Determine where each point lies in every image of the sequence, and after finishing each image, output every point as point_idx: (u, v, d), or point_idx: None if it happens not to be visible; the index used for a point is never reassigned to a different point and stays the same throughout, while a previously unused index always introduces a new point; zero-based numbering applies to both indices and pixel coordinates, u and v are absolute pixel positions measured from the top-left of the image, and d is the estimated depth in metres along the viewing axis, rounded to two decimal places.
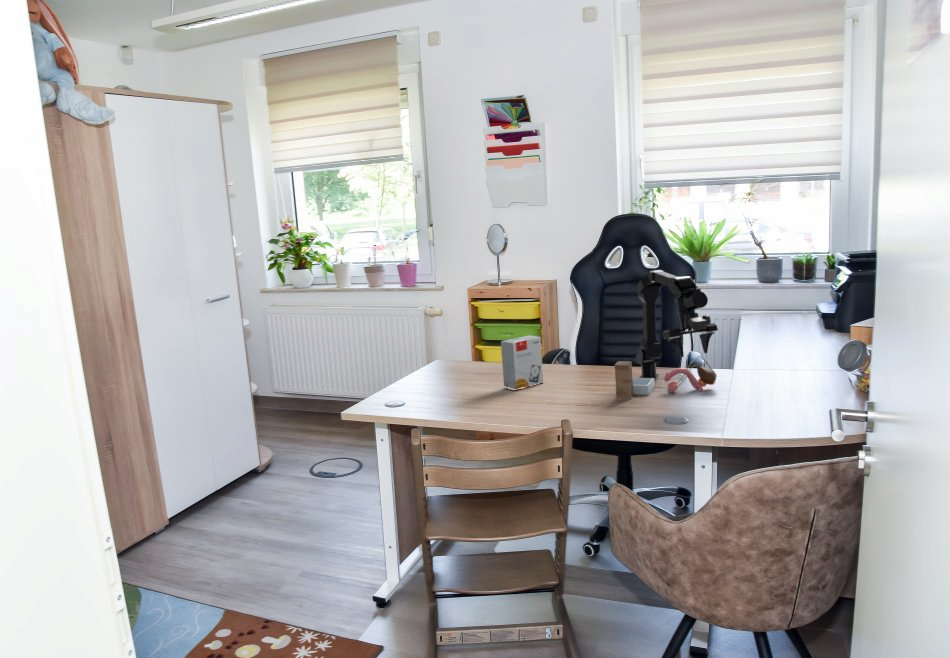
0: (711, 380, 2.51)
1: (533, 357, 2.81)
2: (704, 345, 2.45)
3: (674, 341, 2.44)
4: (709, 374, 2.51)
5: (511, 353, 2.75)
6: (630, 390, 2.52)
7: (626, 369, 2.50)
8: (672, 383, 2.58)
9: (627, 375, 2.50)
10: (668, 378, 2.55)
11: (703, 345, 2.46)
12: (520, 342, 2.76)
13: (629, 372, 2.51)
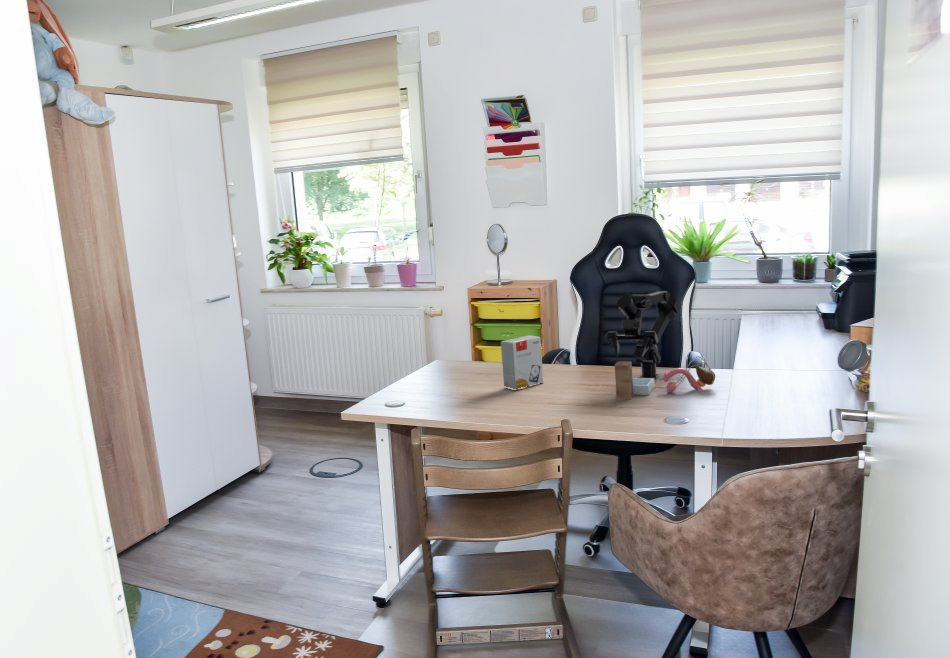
0: (710, 380, 2.51)
1: (533, 357, 2.81)
2: None
3: None
4: (708, 375, 2.50)
5: (511, 353, 2.75)
6: (630, 390, 2.52)
7: (626, 369, 2.50)
8: (671, 383, 2.58)
9: (627, 375, 2.50)
10: (667, 378, 2.55)
11: None
12: (520, 342, 2.76)
13: (629, 372, 2.51)
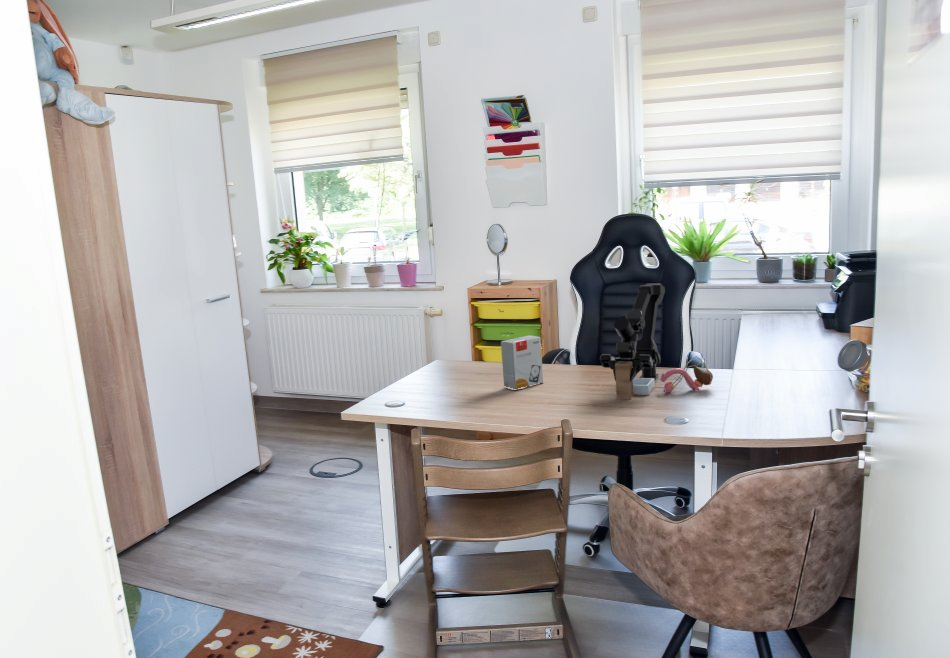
0: (707, 381, 2.50)
1: (533, 357, 2.81)
2: None
3: None
4: (705, 375, 2.50)
5: (511, 353, 2.75)
6: (630, 390, 2.52)
7: (626, 369, 2.50)
8: (669, 383, 2.58)
9: (627, 375, 2.50)
10: (664, 378, 2.55)
11: None
12: (520, 342, 2.76)
13: (629, 372, 2.51)
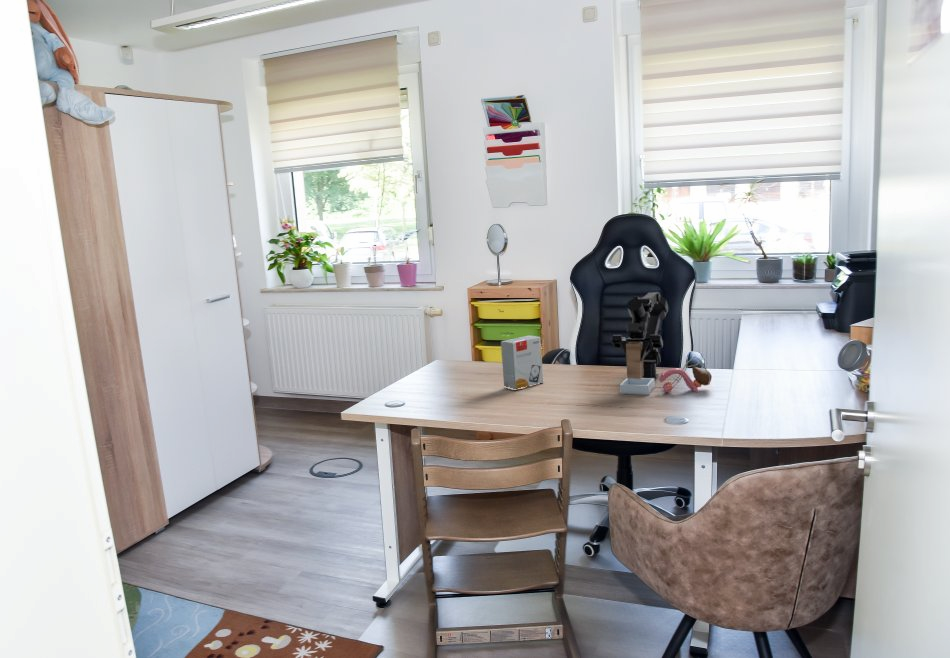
0: (706, 381, 2.50)
1: (533, 357, 2.81)
2: None
3: None
4: (704, 375, 2.50)
5: (511, 353, 2.75)
6: (640, 370, 2.58)
7: (637, 349, 2.56)
8: (667, 383, 2.58)
9: (638, 355, 2.56)
10: (663, 378, 2.56)
11: None
12: (520, 342, 2.76)
13: (640, 352, 2.57)
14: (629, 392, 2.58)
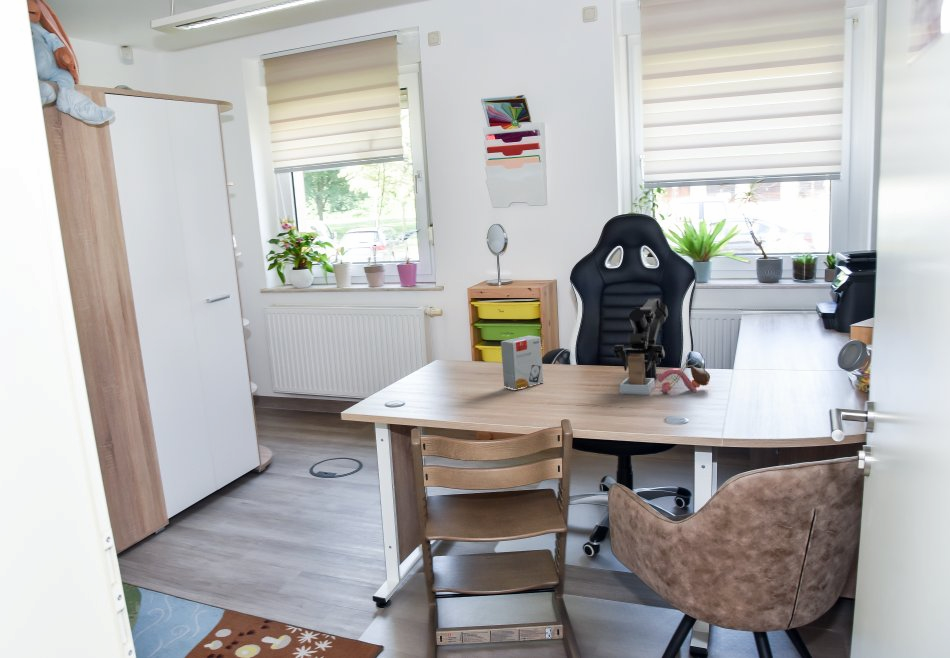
0: (704, 381, 2.50)
1: (533, 357, 2.81)
2: None
3: None
4: (702, 375, 2.50)
5: (511, 353, 2.75)
6: (643, 382, 2.59)
7: (639, 361, 2.57)
8: (666, 383, 2.58)
9: (640, 367, 2.57)
10: (661, 378, 2.56)
11: None
12: (520, 342, 2.76)
13: (642, 364, 2.58)
14: (629, 392, 2.58)
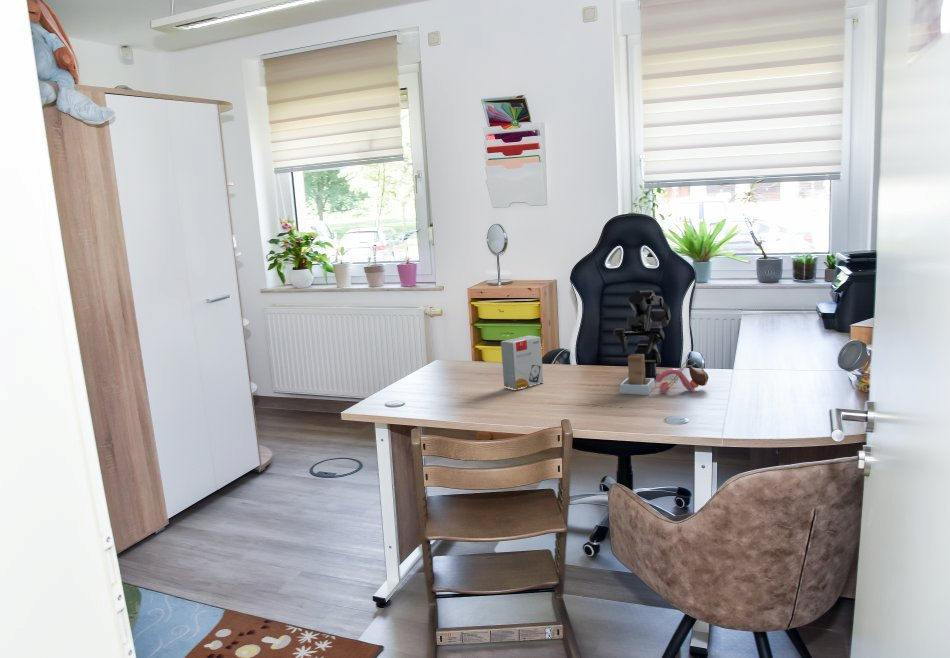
0: (702, 381, 2.50)
1: (533, 357, 2.81)
2: None
3: None
4: (700, 375, 2.50)
5: (511, 353, 2.75)
6: (643, 382, 2.59)
7: (639, 361, 2.57)
8: (664, 384, 2.58)
9: (640, 367, 2.57)
10: (660, 378, 2.56)
11: None
12: (520, 342, 2.76)
13: (642, 364, 2.58)
14: (629, 392, 2.58)
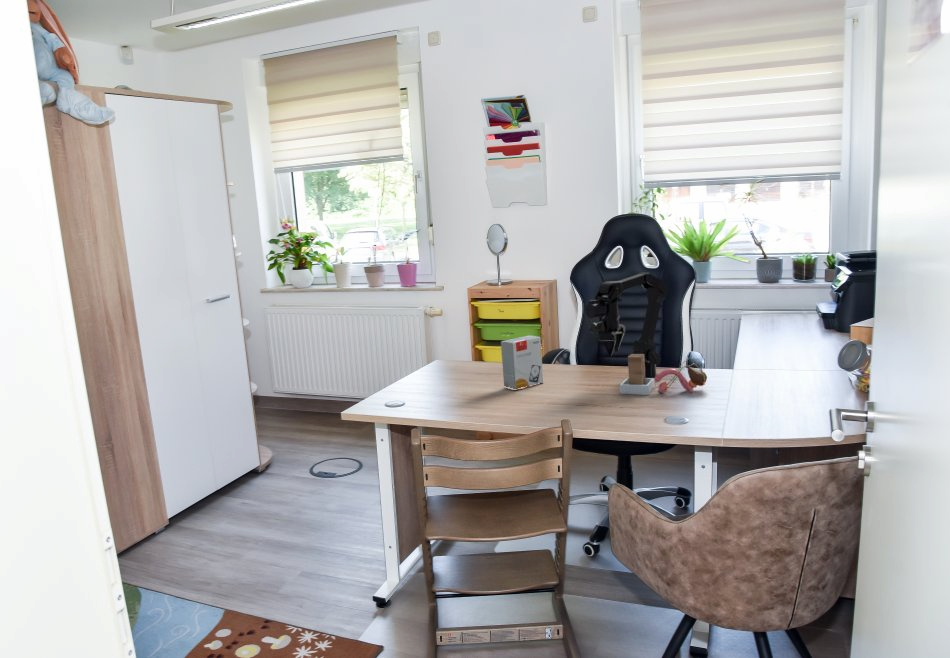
0: (701, 381, 2.50)
1: (533, 357, 2.81)
2: None
3: None
4: (699, 376, 2.50)
5: (511, 353, 2.75)
6: (643, 382, 2.59)
7: (639, 361, 2.57)
8: (663, 384, 2.59)
9: (640, 367, 2.57)
10: (658, 379, 2.56)
11: None
12: (520, 342, 2.76)
13: (642, 364, 2.58)
14: (629, 392, 2.58)
